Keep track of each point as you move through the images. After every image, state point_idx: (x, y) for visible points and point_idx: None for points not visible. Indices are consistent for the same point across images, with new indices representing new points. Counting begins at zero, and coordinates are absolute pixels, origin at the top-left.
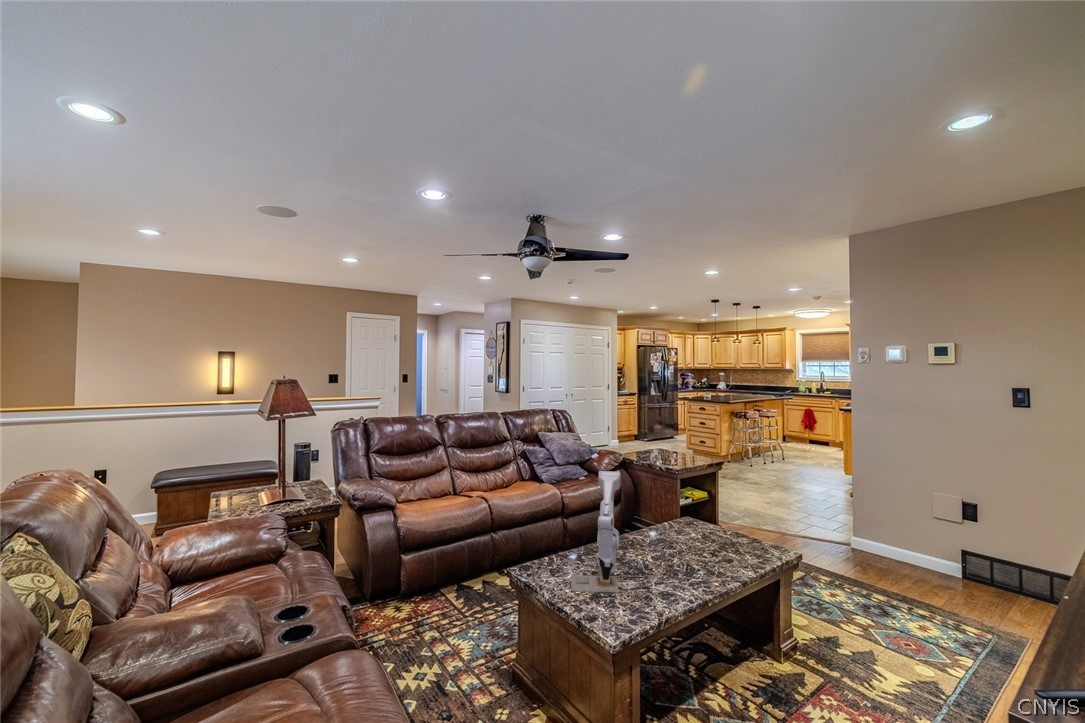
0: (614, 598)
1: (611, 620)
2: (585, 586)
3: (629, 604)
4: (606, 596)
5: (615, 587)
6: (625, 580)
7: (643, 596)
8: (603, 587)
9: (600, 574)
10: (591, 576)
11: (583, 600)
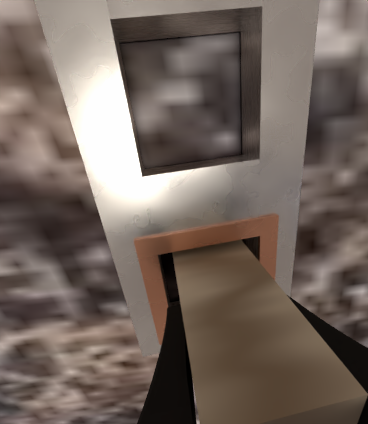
0: (72, 319)
1: None
2: (77, 139)
3: (37, 379)
4: (79, 280)
5: (139, 344)
6: None
7: (141, 407)
8: (120, 282)
9: (183, 317)
10: (289, 182)
11: None
